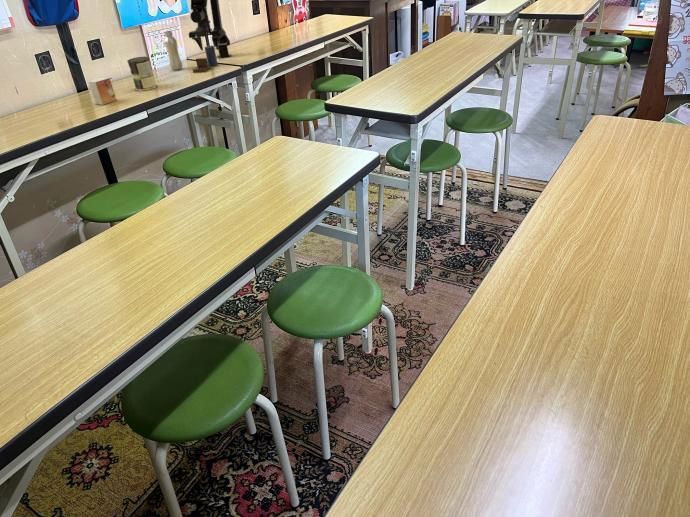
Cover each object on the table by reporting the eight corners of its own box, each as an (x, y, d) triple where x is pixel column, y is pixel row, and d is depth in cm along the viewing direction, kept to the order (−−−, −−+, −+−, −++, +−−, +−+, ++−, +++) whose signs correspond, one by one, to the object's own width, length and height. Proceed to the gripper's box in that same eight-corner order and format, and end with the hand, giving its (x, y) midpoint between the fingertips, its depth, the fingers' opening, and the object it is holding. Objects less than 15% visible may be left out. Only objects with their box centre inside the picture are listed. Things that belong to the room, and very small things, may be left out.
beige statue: (170, 69, 292) (160, 31, 281) (182, 67, 295) (173, 29, 284) (172, 71, 287) (162, 33, 276) (184, 69, 290) (175, 31, 279)
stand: (199, 68, 289) (197, 57, 285) (211, 68, 287) (208, 57, 284) (193, 72, 282) (190, 61, 278) (205, 72, 280) (202, 60, 277)
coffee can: (133, 91, 257) (124, 62, 249) (138, 86, 266) (130, 57, 258) (154, 89, 258) (146, 60, 250) (158, 84, 266) (150, 55, 258)
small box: (102, 105, 241) (95, 82, 235) (95, 104, 244) (87, 81, 238) (117, 100, 246) (109, 77, 241) (109, 99, 249) (102, 76, 243)
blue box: (212, 53, 296) (203, 42, 286) (220, 52, 295) (212, 41, 285) (210, 70, 294) (201, 59, 284) (218, 70, 293) (210, 59, 283)
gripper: (180, 23, 274) (188, 54, 283) (213, 21, 271) (219, 52, 279) (190, 19, 283) (196, 49, 292) (221, 17, 280) (227, 48, 288)
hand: (209, 50), depth 288 cm, fingers open, 9 cm apart
